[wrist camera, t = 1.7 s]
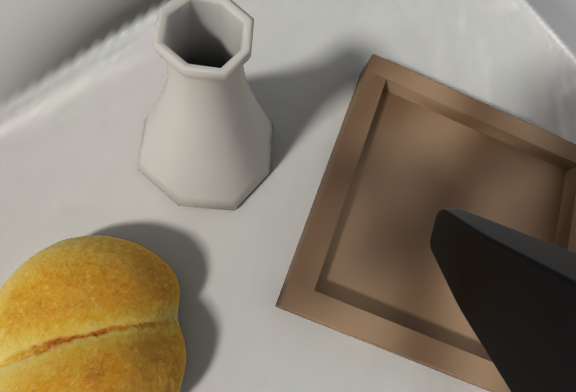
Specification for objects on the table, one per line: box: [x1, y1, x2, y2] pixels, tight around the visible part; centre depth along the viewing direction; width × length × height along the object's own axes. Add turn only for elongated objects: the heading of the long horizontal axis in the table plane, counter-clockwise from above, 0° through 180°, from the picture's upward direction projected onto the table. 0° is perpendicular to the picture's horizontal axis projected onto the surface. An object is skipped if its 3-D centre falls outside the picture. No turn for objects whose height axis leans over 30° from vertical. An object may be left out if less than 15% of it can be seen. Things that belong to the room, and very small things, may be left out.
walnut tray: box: [276, 54, 576, 392], centre depth 23 cm, size 15×15×2 cm
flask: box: [137, 0, 272, 210], centre depth 18 cm, size 7×7×10 cm
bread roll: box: [0, 235, 187, 392], centre depth 17 cm, size 8×9×4 cm
